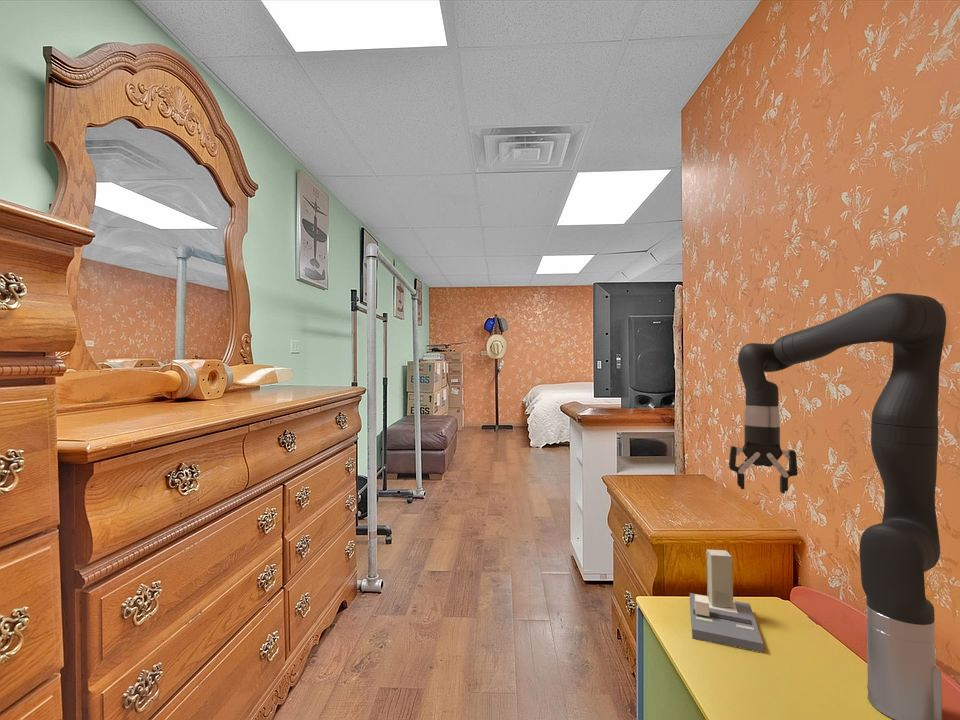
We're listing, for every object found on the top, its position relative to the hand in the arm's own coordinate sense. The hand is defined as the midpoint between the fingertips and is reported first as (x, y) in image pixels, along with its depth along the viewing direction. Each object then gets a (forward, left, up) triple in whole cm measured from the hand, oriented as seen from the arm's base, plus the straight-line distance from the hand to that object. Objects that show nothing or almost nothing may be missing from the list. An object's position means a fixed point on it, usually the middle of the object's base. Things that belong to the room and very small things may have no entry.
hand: (762, 490), depth 115 cm
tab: (+14, +5, -30) cm, 33 cm away
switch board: (+9, +4, -32) cm, 34 cm away
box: (+9, -2, -30) cm, 32 cm away
